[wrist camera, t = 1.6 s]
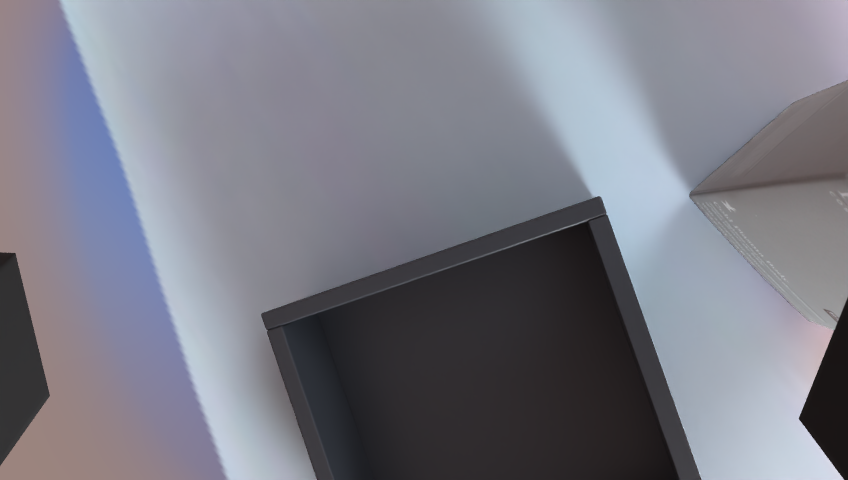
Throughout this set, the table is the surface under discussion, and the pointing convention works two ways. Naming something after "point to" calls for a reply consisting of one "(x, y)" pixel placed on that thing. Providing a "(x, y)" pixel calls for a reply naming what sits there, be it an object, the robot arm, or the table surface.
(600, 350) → the box
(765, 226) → the cosmetic box
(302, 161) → the table surface
